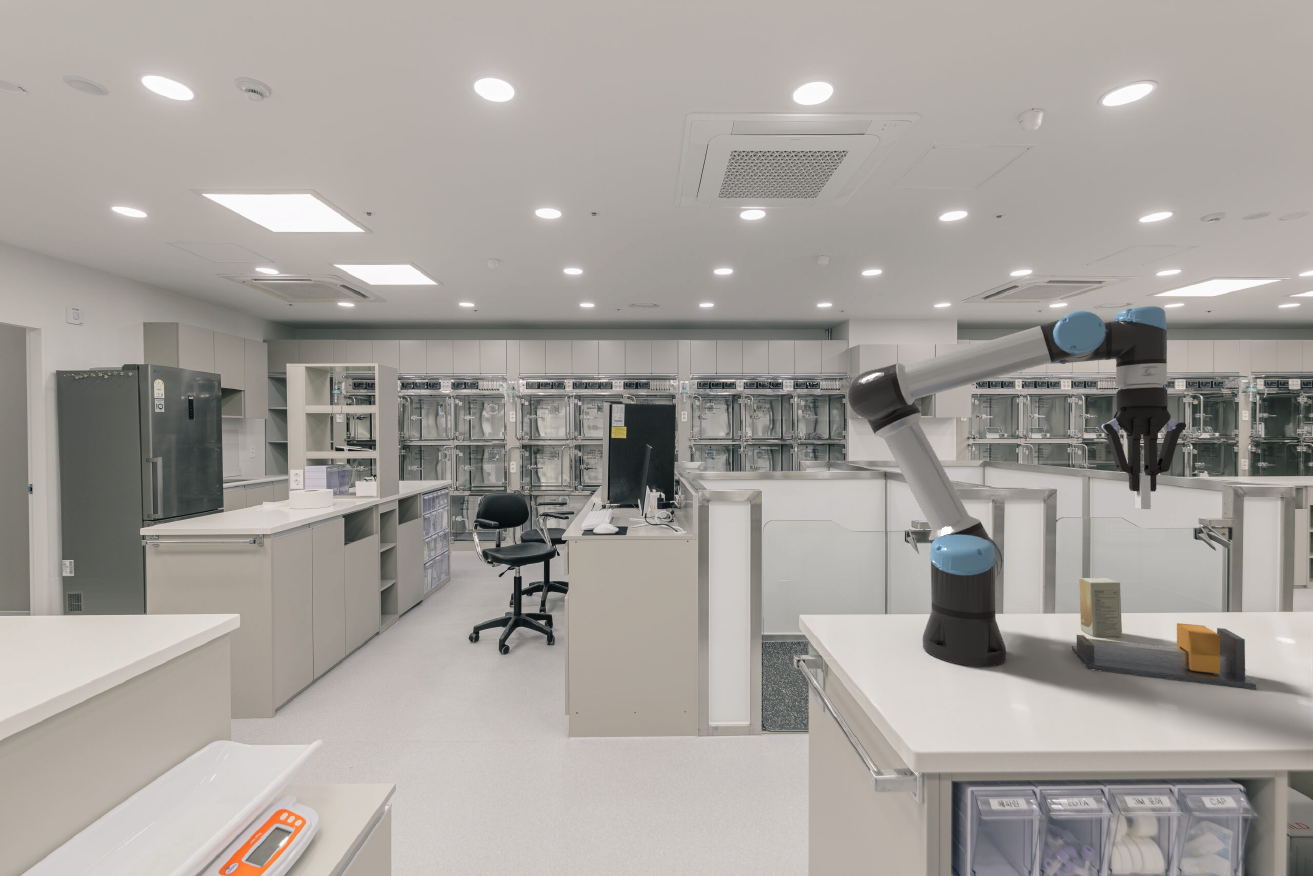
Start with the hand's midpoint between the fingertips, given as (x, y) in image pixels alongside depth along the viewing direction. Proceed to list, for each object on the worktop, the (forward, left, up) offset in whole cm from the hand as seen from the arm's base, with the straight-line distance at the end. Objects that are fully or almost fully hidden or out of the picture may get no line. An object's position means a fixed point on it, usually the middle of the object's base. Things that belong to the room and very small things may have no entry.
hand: (1142, 508), depth 108 cm
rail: (+1, -2, -30) cm, 30 cm away
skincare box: (-2, +17, -31) cm, 35 cm away
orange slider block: (+7, -2, -29) cm, 30 cm away
